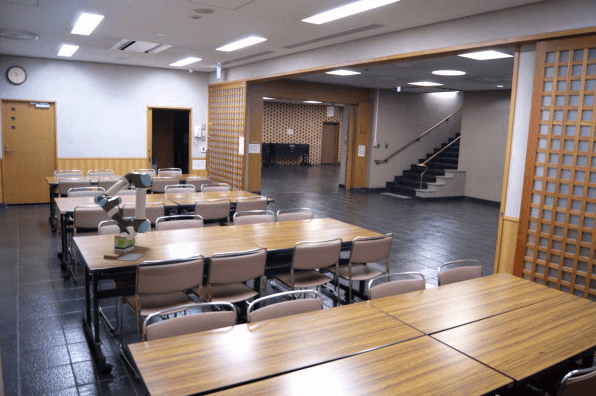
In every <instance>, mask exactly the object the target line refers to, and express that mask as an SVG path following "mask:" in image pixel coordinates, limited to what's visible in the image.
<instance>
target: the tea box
mask: <svg viewBox="0 0 596 396" xmlns="http://www.w3.org/2000/svg"><path fill="white" fill-rule="evenodd" d="M113 240H114V242H113V244H114V245H113V246H114V247H113V251H123V252H125V254H127V253H128V252H131V251H133V250H134V251H135V243H134V239H133V240H126V232H125V233H121V234H120V233H118V234H115V235H114V239H113Z"/></svg>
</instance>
